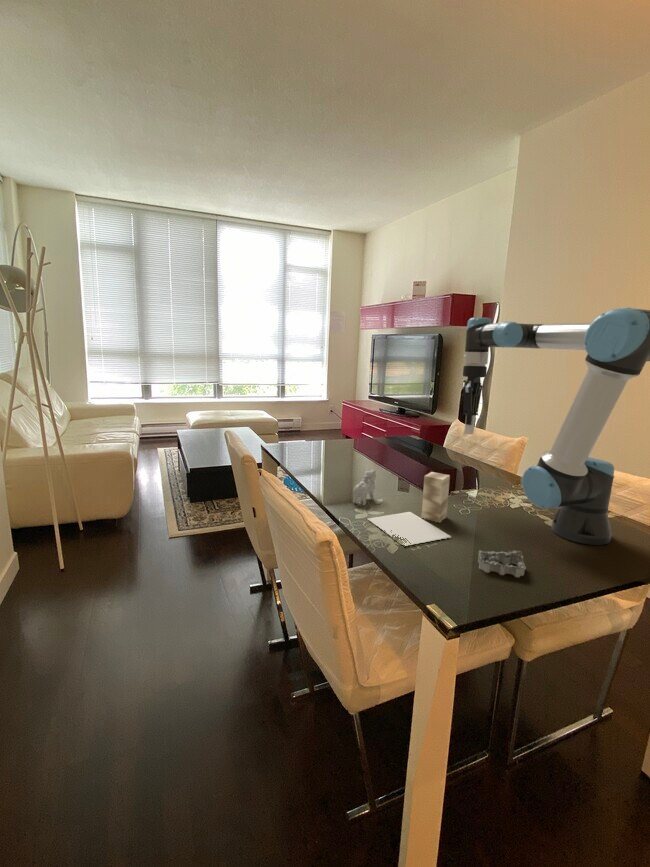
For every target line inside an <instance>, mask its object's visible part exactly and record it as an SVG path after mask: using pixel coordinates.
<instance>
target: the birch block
mask: <svg viewBox="0 0 650 867" xmlns="http://www.w3.org/2000/svg"><path fill="white" fill-rule="evenodd" d="M450 475H451V474H444V473H440V472H434V471H430V472H429V473H427V474H425V475H424V476H423V491H422V504H421V505H422V506H421V515H420V516H421V517H420V518H421V519H422V518H424V519H423V520H426V519H427V520H426V521H430V520H431V522H434V521H435V522H434V523H437V522H439V523H438V524H440V523H442V522H443V521H444V520H445V519H446V518H447V514H448V505H449V504H448V502H449V490H450V481H451V480H450V479H451V476H450ZM443 519H444V520H443ZM442 520H443V521H442Z"/></svg>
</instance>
